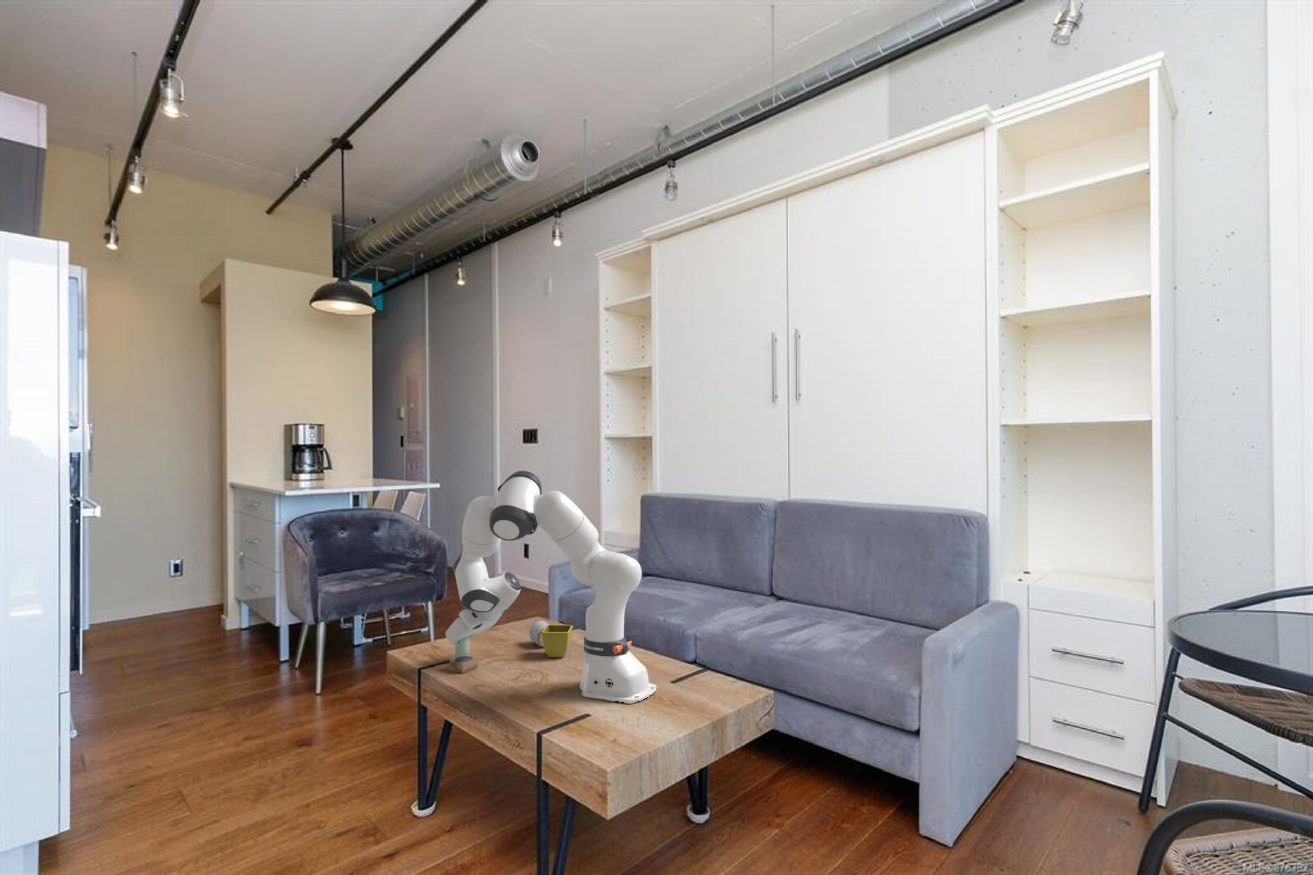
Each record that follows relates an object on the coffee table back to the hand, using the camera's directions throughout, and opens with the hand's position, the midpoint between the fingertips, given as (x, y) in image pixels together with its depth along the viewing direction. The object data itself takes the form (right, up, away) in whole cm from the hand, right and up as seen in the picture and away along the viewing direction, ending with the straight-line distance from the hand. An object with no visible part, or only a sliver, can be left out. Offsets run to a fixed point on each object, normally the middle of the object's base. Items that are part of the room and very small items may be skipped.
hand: (460, 640), depth 208 cm
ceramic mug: (+25, -7, +18) cm, 31 cm away
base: (+3, -6, -8) cm, 11 cm away
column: (+1, -5, 0) cm, 5 cm away
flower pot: (+30, -7, +6) cm, 32 cm away
